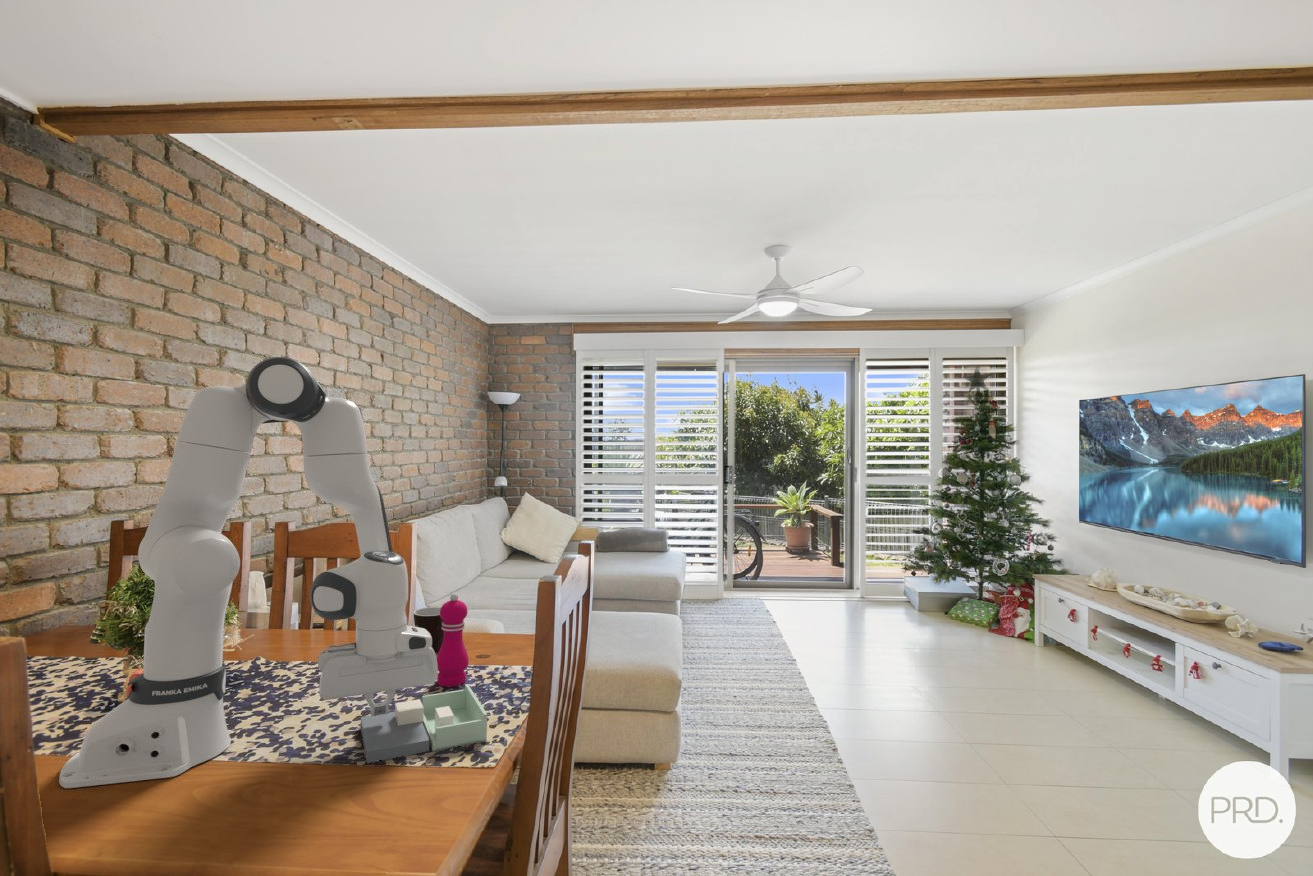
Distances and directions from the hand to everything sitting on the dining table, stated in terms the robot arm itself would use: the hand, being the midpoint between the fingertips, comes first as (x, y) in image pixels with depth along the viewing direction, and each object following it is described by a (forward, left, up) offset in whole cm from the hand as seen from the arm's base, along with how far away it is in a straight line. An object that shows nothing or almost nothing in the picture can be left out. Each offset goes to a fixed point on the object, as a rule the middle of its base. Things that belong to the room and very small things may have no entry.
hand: (379, 714), depth 120 cm
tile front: (+9, -7, -1) cm, 11 cm away
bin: (+12, -3, -4) cm, 13 cm away
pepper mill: (+17, +21, -4) cm, 27 cm away
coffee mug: (+16, +44, -4) cm, 47 cm away
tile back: (+5, 0, -2) cm, 5 cm away
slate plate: (+2, -3, -4) cm, 5 cm away
